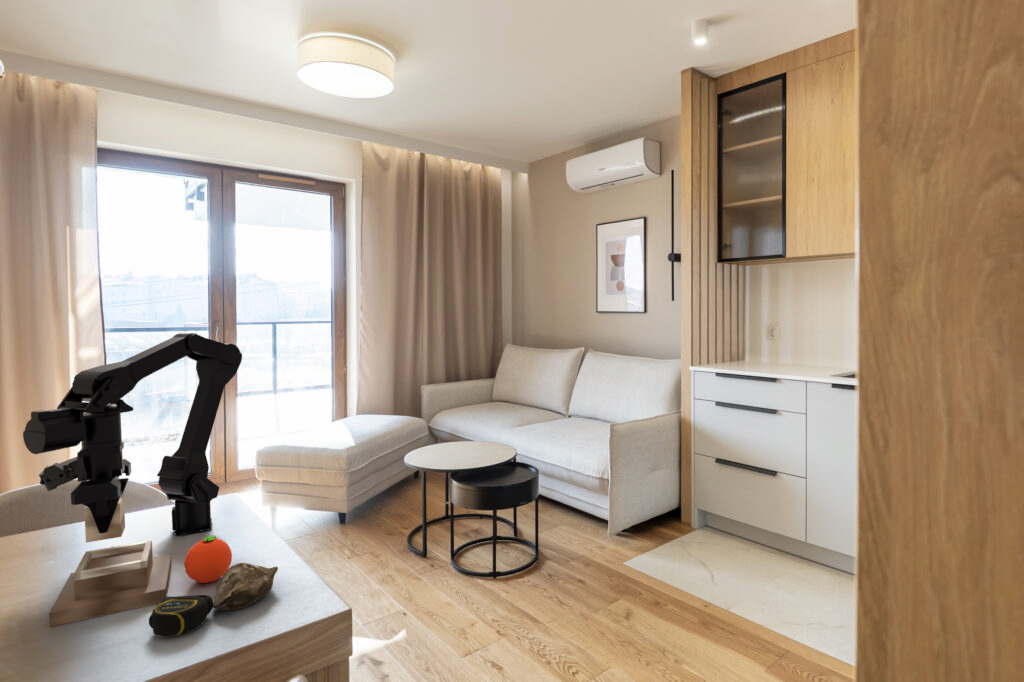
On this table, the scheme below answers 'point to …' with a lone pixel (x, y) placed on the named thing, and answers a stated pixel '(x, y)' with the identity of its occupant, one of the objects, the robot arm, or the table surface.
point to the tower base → (112, 583)
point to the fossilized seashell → (243, 586)
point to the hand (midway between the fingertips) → (105, 527)
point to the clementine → (208, 560)
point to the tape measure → (180, 614)
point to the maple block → (114, 528)
